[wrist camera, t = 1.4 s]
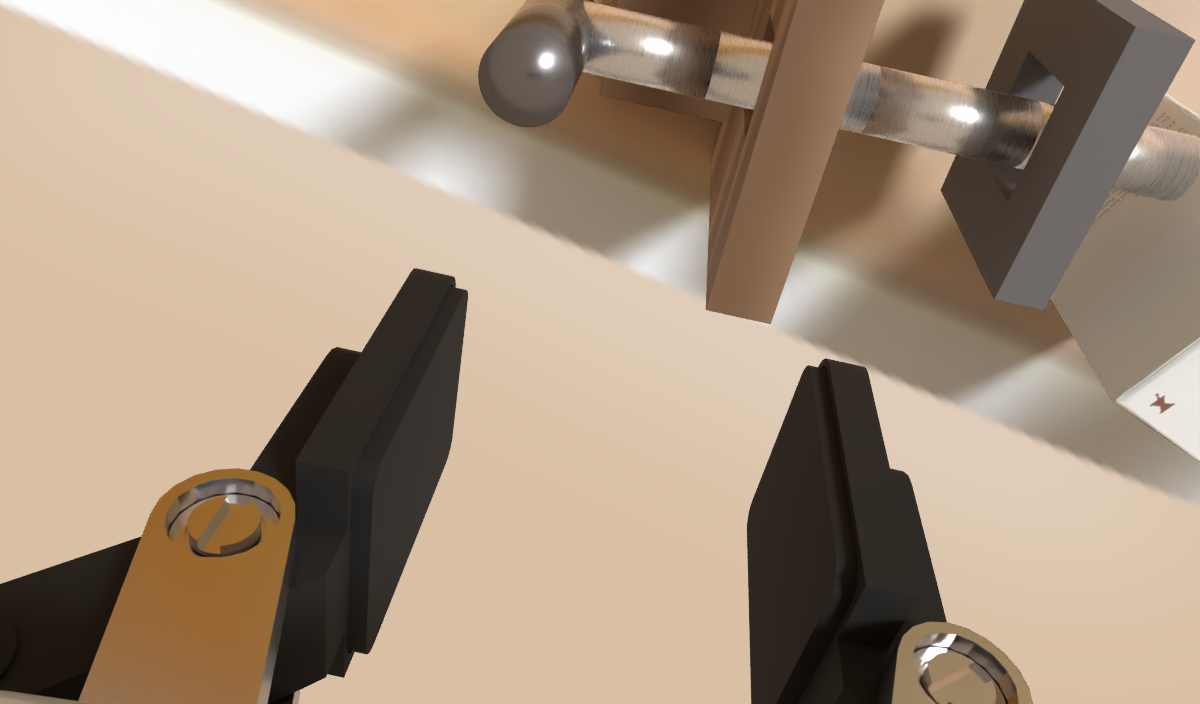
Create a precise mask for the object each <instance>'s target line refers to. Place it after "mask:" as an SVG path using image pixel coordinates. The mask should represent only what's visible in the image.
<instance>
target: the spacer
mask: <svg viewBox="0 0 1200 704" xmlns="http://www.w3.org/2000/svg"><path fill="white" fill-rule="evenodd" d="M1194 42H1195V40H1194V39H1193V38H1191V37H1189V36H1188V35H1186V34H1185V33H1183V32H1181V31H1180V30H1178V29H1176V28H1175V27H1173V26H1171V25H1170V24H1168V23H1167V22H1165V21H1163V20H1162V19H1160V18H1158V17H1157V16H1155V15H1153V14H1152V13H1150V12H1149V11H1147V10H1145V9H1144V8H1142V7H1140V6H1139V5H1137V4H1135V3H1134V2H1132V1H1131V0H1024V2H1023V4H1022V7H1021V9H1020V11H1019V14H1018V16H1017V18H1016V20H1015V23H1014V25H1013V27H1012V29H1011V32H1010V34H1009V36H1008V39H1007V41H1006V43H1005V45H1004V48H1003V50H1002V52H1001V54H1000V57H999V59H998V61H997V63H996V66H995V68H994V70H993V73H992V75H991V77H990V79H989V82H988V84H987V86H986V88H985V89H987V90H991V91H996V92H1000V93H1005V94H1009V95H1014V96H1018V97H1023V98H1027V99H1032V100H1036V101H1041V102H1045V103H1050V104H1054V103H1055V101H1056V99H1057V97H1058V95H1059V93H1060V91H1061V89H1062V87H1063V85H1064V86H1065V87H1064V89H1063V91H1062V93H1061V95H1060V97H1059V99H1058V101H1057V103H1056V105H1055V107H1054V109H1053V111H1052V113H1051V115H1050V117H1049V119H1048V121H1047V123H1046V125H1045V127H1044V129H1043V131H1042V133H1041V136H1040V138H1039V140H1038V142H1037V144H1036V146H1035V148H1034V150H1033V152H1032V154H1031V156H1030V158H1029V160H1028V162H1027V164H1026V166H1025V168H1024V170H1023V169H1018V168H1013V167H1009V166H1004V165H1000V164H995V163H991V162H986V161H982V160H977V159H973V158H968V157H964V156H959V155H956V157H955V159H954V161H953V163H952V166H951V168H950V170H949V172H948V175H947V177H946V179H945V182H944V184H943V186H942V188H941V192H942V194H943V196H944V198H945V200H946V202H947V204H948V206H949V208H950V210H951V212H952V214H953V216H954V218H955V220H956V222H957V225H958V227H959V229H960V231H961V233H962V235H963V237H964V239H965V241H966V243H967V245H968V247H969V249H970V251H971V253H972V255H973V257H974V259H975V261H976V263H977V265H978V268H979V270H980V272H981V274H982V276H983V278H984V280H985V282H986V284H987V286H988V288H989V290H990V292H991V294H992V296H993V298H994V300H998V301H1002V302H1007V303H1011V304H1016V305H1020V306H1025V307H1030V308H1034V309H1039V310H1043V311H1044V309H1045V307H1046V305H1047V303H1048V302H1049V300H1050V298H1051V296H1052V295H1053V293H1054V291H1055V289H1056V287H1057V286H1058V284H1059V282H1060V280H1061V279H1062V277H1063V275H1064V273H1065V271H1066V270H1067V268H1068V266H1069V264H1070V262H1071V261H1072V259H1073V257H1074V255H1075V254H1076V252H1077V250H1078V248H1079V246H1080V245H1081V243H1082V241H1083V239H1084V238H1085V236H1086V234H1087V232H1088V230H1089V229H1090V227H1091V225H1092V223H1093V222H1094V220H1095V218H1096V216H1097V214H1098V213H1099V211H1100V209H1101V207H1102V206H1103V204H1104V202H1105V200H1106V198H1107V197H1108V195H1109V193H1110V191H1111V190H1112V188H1113V186H1114V184H1115V182H1116V181H1117V179H1118V177H1119V175H1120V174H1121V172H1122V170H1123V168H1124V166H1125V165H1126V163H1127V161H1128V159H1129V158H1130V156H1131V154H1132V152H1133V150H1134V149H1135V147H1136V145H1137V143H1138V142H1139V140H1140V138H1141V136H1142V134H1143V133H1144V131H1145V129H1146V127H1147V126H1148V124H1149V122H1150V120H1151V118H1152V117H1153V115H1154V113H1155V111H1156V110H1157V108H1158V106H1159V104H1160V102H1161V101H1162V99H1163V97H1164V95H1165V94H1166V92H1167V90H1168V88H1169V86H1170V85H1171V83H1172V81H1173V79H1174V77H1175V76H1176V74H1177V72H1178V70H1179V69H1180V67H1181V65H1182V63H1183V61H1184V60H1185V58H1186V56H1187V54H1188V53H1189V51H1190V49H1191V47H1192V45H1193V44H1194Z"/></svg>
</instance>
